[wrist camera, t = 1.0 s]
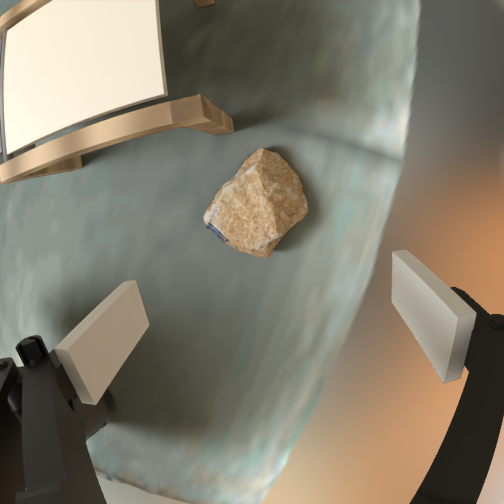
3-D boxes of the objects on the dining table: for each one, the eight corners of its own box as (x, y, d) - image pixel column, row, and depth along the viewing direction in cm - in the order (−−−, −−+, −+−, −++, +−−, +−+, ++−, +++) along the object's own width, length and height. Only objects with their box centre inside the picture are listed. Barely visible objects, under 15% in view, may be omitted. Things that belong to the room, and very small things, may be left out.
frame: (71, 171, 33) (-11, 187, 20) (61, 49, 28) (-12, 26, 15) (234, 132, 31) (203, 117, 17) (213, -6, 26) (181, -75, 12)
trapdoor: (-1, 175, 25) (-33, 182, 20) (-6, 66, 21) (-35, 62, 16) (186, 110, 22) (164, 100, 18) (171, -23, 18) (152, -50, 14)
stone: (199, 214, 34) (188, 223, 30) (264, 141, 31) (262, 139, 27) (256, 263, 35) (253, 279, 31) (322, 196, 32) (329, 202, 28)
